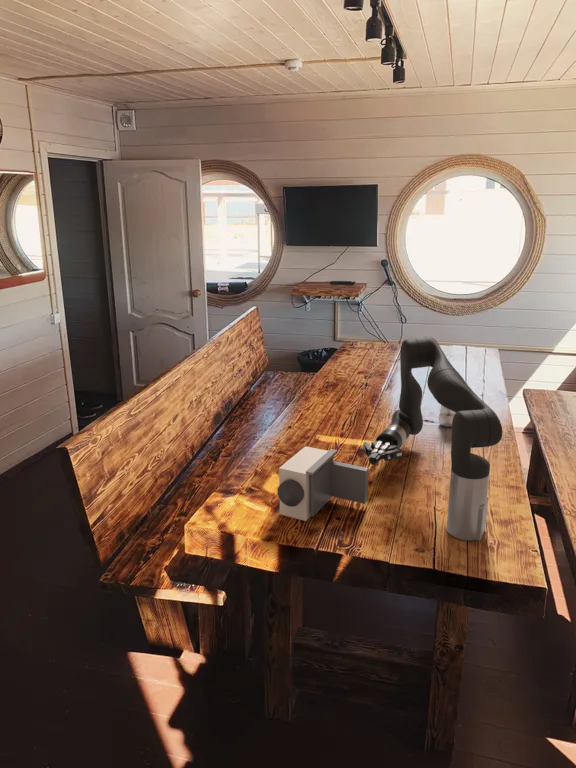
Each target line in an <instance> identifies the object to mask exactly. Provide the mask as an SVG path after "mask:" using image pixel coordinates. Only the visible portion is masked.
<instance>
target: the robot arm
mask: <svg viewBox="0 0 576 768" xmlns="http://www.w3.org/2000/svg"><path fill="white" fill-rule="evenodd" d="M399 354H400V355H399V356H400V357H399V358H400V359H399V362H400V363H399V364H400V365H399V367H400V369H399V370H400V395H399V401H398V408H399V409H397V410H396V411H394V412H393V414H392V415H391V416H392V417H391V421H390V422H391V423H390V424H389V425H388V426H387V427H385V429H383V430H382V431H381V432H380V433H379V435H378V436H377V437H376V439H375V440H374V441H372V442H371V443H368V442H367V441H364V442H363V445H362V451H363V452H364V453H365V455H366V457H367V458H368V462H369V464H370V465H376V464H378V463H379V462H381V461H382V460H384V461H385V462H387V461H393V460H397V459H401V458H402V455H403V450H402V446H403V445H404V444H405V443H406V442H405V441H406V440H407V439H408V438H409V436H415V435H418V434H419V433H420V432H421V431H422V429H423V426H424V419H423V413H422V409H421V407H422V400H423V390H422V387H421V385H420V384H419V382H418V381H417V380H416V379H417V378H415V377H414V375H413V373H412V370H413V369H419V368H421V369H422V368H431V370H430V372H429V374H428V376H427V381H426V382H427V387H428V388H427V389H428V390H429V392H430V393H431V395H432V396H433V398H434V399H435V401H437V403H438V404H439V405H440V406H441V405H442V406H444V407H446V408H447V409H449V410H451V411H454V412H456V413H455V415H454V417H453V420H452V427H451V446H450V447H451V448H450V459H451V461H450V463H451V467H450V481H449V490H448V491H449V492H448V503H447V504H448V506H447V517H446V531H447V533H448V534H449V535H450V536H452V537H453V538H455V539H457V540H462V541H470V542H471V541H478V542H481V541H482V538H483V536H484V533H485V531H486V525H487V516H488V506H489V497H488V490H489V482H490V481H489V480H490V473H491V472H490V471H491V470H490V469H491V464H490V462H489V460H488V459H486V458H485V457H483V456H481V455H478V454H475V453H472V451H471V450H472V449H473V448H474V449H476V448H478V449H479V448H486V447H487V448H488V447H493V446H496V445H497V444H499V443H500V442H501V440H502V438H503V426H502V423H501V420H500V418H499V416H498V415H497V413H496V412H495V411H494V410H493V409H492V408H491V407H490V406H489V405H487V403H486V402H484V401H483V400H482V399H481V398H480V397H479V396H478V395H477V394H476V393H475V392H474V391H473V389H472V388H471V387H470V386H469V384H468V383H467V382H466V381H465V379H464V378H463V376H462V375H461V374H460V372H458V370H456V369H455V367H454V366H453V364H452V363H451V362H450V361H449V359H448V358H447V356H446V354H445V353H444V351H443V350H442V347H441V345H439V343H438V341H437V339H435V338H434V337H432V336H419V337H413V338H407V339H403V341H402V342H401V346H400V353H399Z"/></svg>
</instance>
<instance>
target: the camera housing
mask: <svg viewBox="0 0 576 768" xmlns="http://www.w3.org/2000/svg"><path fill="white" fill-rule="evenodd" d="M337 454H338V449H334V448H333V449H332V448H330V449H329V450H326V449H321V448H316V447H311V446H304V447H303V448H302V449H300V450H299V451H298V452H296V453H295V454H294V455H293V456H292V457H290V458H289V459H288V460H287V461H285V463H283V464H282V465H281V466H280V467H279V468H278V478H279V479H278V487H277V490H276V491H277V492H276V493H277V496H278V499H279V515H280V516H285V517H288V518H292V519H296V520H301V521H304V522H307V521H308V520H309V519H310V517H312V516H311V475H312V476H313V475H314V474H315V473H316V472H317V471H318V470H319V469H320V468H321V467H323V466H324V465H325V464H326V463H327V462H328V461H329V460H330V459H331V458H332V457H333V458H334V457H335V456H336V455H337Z"/></svg>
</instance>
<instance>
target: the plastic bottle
mask: <svg viewBox="0 0 576 768" xmlns="http://www.w3.org/2000/svg"><path fill="white" fill-rule="evenodd" d="M439 410H440V411H439V414H438V423H439V425H441V426H442V427H447V428H452V420H453V417H454V415H455V413H456V412H454V411H451V410H449V409H447V408H446V407H444V406H442V405H441V404H440V409H439Z"/></svg>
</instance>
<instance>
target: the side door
mask: <svg viewBox="0 0 576 768" xmlns="http://www.w3.org/2000/svg"><path fill="white" fill-rule="evenodd" d="M369 470H370V469H369V467H364V466H359V465H355V464H350V463H345V462H340V461H336V460H334V456H333V457H332V458H331V459H330V460H329V461H328V462H327V463H326V464H325V465H324V466H323V467H321V468H320V469H319V470H318V471H317V472H316V473H315V474H314V475H313V476H312V475H311V516H310V517H312V518H313V517H314V516H316V515H317V514H318V513H319V511H320V510H321V509H322V508H323V507H324V506H325V505H326V504H327V503H328V501H329V500H331V498H333V497H335V498H338V499H339V498H340V499H342V500H347V501H351V502H356V503H358V504H363V505H364V504H365V505H366V503H367V502H368V498H369V497H368V496H369V493H368V491H369Z"/></svg>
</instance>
